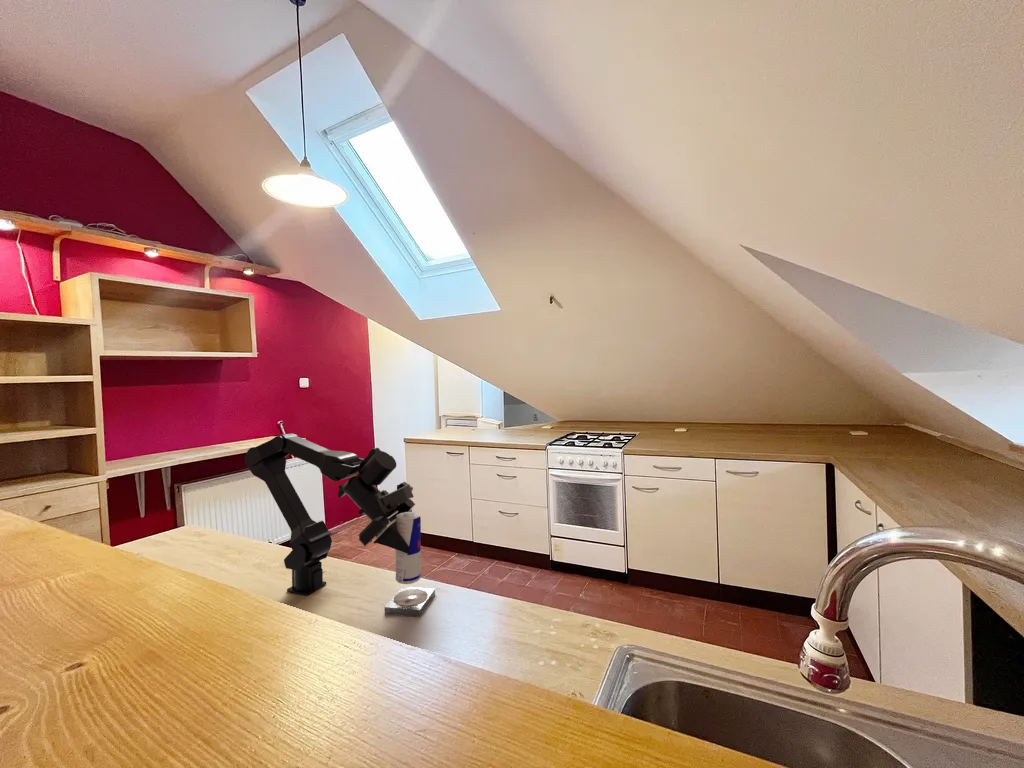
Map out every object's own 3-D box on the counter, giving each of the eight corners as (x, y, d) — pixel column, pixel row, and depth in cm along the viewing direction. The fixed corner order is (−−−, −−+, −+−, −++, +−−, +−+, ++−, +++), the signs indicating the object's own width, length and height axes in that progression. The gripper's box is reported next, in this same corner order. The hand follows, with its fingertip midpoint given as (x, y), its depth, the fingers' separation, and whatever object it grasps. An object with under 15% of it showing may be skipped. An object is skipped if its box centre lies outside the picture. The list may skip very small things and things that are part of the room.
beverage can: (414, 586, 97) (414, 518, 97) (391, 584, 98) (391, 517, 98) (424, 575, 103) (424, 511, 103) (402, 574, 104) (402, 510, 104)
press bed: (384, 614, 95) (384, 606, 95) (403, 592, 105) (403, 585, 105) (419, 617, 94) (419, 609, 94) (435, 594, 104) (435, 587, 104)
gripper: (372, 482, 92) (423, 537, 90) (407, 466, 110) (449, 511, 108) (337, 518, 93) (387, 573, 91) (377, 496, 111) (419, 542, 110)
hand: (413, 547), depth 100 cm, fingers closed on beverage can, 5 cm apart
